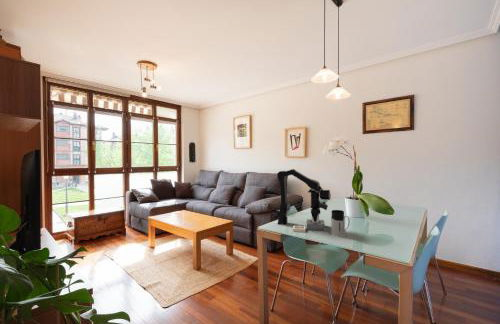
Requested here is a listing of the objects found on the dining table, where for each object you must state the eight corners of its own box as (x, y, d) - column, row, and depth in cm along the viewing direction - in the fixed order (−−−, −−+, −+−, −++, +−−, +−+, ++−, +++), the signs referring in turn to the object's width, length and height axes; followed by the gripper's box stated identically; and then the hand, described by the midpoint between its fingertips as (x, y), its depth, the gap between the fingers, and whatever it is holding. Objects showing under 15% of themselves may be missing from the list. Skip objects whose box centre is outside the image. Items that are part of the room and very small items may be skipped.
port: (306, 229, 161) (306, 223, 161) (306, 224, 173) (306, 218, 173) (325, 230, 159) (324, 223, 158) (323, 225, 170) (323, 219, 170)
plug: (311, 225, 165) (311, 212, 165) (311, 224, 168) (311, 211, 168) (319, 226, 164) (319, 213, 163) (319, 224, 167) (318, 212, 167)
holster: (293, 231, 158) (292, 228, 158) (293, 228, 165) (293, 225, 165) (305, 232, 156) (305, 229, 156) (305, 229, 163) (305, 226, 163)
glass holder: (338, 231, 156) (338, 209, 156) (355, 238, 143) (354, 213, 142) (327, 233, 153) (327, 210, 153) (343, 240, 140) (343, 215, 139)
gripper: (328, 201, 154) (328, 225, 155) (325, 196, 173) (326, 217, 173) (310, 201, 157) (311, 224, 157) (310, 196, 175) (310, 217, 176)
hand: (315, 220), depth 166 cm, fingers closed on plug, 3 cm apart
